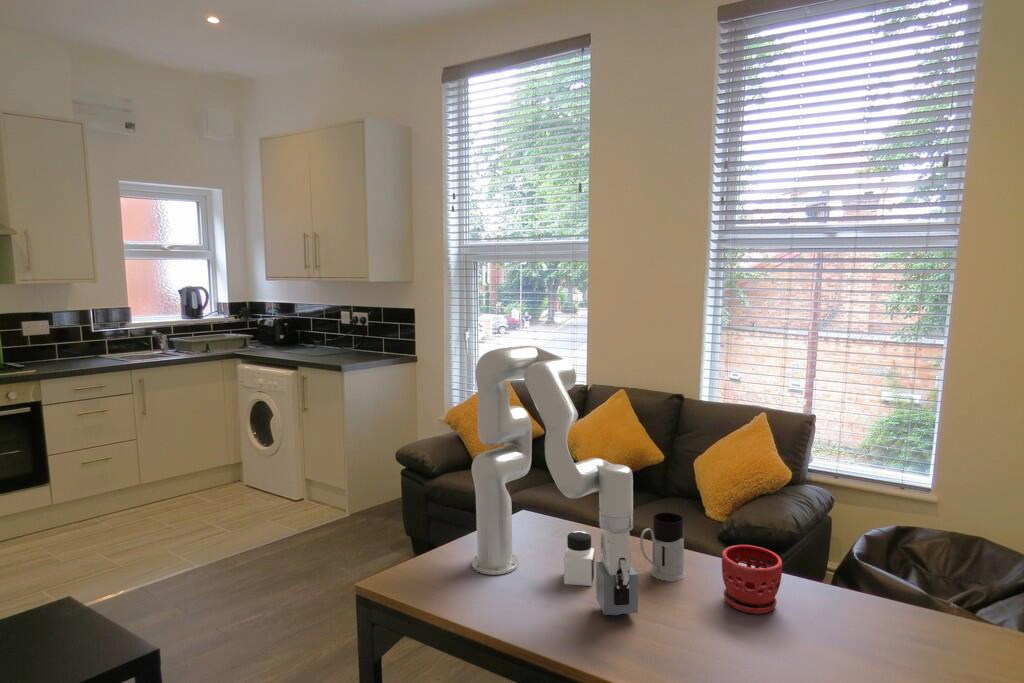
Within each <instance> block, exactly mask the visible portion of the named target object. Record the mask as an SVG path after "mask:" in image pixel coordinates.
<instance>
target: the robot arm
mask: <svg viewBox="0 0 1024 683" xmlns="http://www.w3.org/2000/svg"><path fill="white" fill-rule="evenodd" d="M576 373H577V372H576V369H575V368H574V366H573V365H572V363H571V362H569V361H568V360H566V359H565V358H564V357H561V356H559V355H557V354H554V353H551V352H549V351H547V350H545V349H543V348H540V347H537V346H534V345H522V346H521V345H520V346H510V347H509V346H508V347H501V348H495V349H491V350H490V351H487V352H485V353H484V354H483V355H482V356H480V357H479V359H478V361H477V363H476V366H475V382H476V389H477V390H476V391H477V436H478V439H479V441H480V442H481V443H482V444H483V445H484V446H487V447H493V446H495V448H492V449H487V450H485V451H482V452H480V453H479V454H478V455H476V457H474V459H473V461H472V463H471V475H472V480H473V484H474V491H475V510H476V512H475V513H476V556H475V557H474V558H472V560H471V567H473V568H472V569H473V570H476V572H477V573H479V572H480V574H483V575H490V576H495V575H496V576H497V575H504V574H508V573H511V572H513V571H515V570H516V569H517V568H518V566H519V559H518V557H517V556H515V555H514V554H513V513H512V512H513V510H512V509H513V508H512V505H513V504H512V498H511V495H510V493H509V491H508V490H507V487H506V484H507V483H509V482H512V481H515V480H518V479H521V478H523V477H525V476H526V475H527V474H529V471H530V469H531V465H532V453H533V452H532V450H533V449H532V447H533V445H532V444H533V441H532V440H533V426H532V425H533V424H532V420H531V418H530V415H529V413H528V411H526V409H525V408H523V407H522V406H519V405H511V404H510V403H511V402H510V400H511V396H510V390H509V388H508V386H507V384H506V383H505V382H508V381H515V380H522V379H523V381H524V384H525V386H526V388H527V390H528V393H529V395H530V397H531V399H532V401H533V404H534V406H535V408H536V410H537V413H539V414H538V415H539V416H540V419H541V420H542V422H543V424H544V427H545V430H546V431H545V437H544V457H545V458H544V459H545V462H546V466H547V468H548V471H549V472H550V474H551V476H552V479H553V480H554V483H555V485H556V487H557V488H558V490H559V491H560V492H561V494H563V496H565V497H566V498H568V499H579V498H582V497H584V496H587V495H589V494H592V493H596V492H598V494H599V495H598V497H599V501H598V502H599V504H598V506H599V509H598V510H599V514H598V515H599V517H598V518H599V529H601V533H600V562H602V564H603V566H604V568H605V569H606V571H607V573H608V574H609V575H610V576H613V575H615V584H616V587H614V603H615V605H628V604H629V574H630V573H631V565H632V552H631V550H632V549H631V535H630V533H631V532H630V531H632V530H633V528H634V475H633V471H632V469H631V468H630V467H629V466H627V465H624V464H619V463H618V464H617V463H616V464H615V463H611V462H609V461H607V460H605V459H602V458H599V457H590V458H587V459H584V460H581V461H578V462H574V459H573V457H572V455H571V453H570V450H569V445H568V436H569V433H570V429H571V428H572V426H574V424H575V423H576V421H578V419H579V418H578V417H579V413H578V411H577V410H578V409H576V407H575V406H576V405H575V404H574V402H573V401H572V399H571V396H570V395H569V393H568V391H569V390H571V389H573V388H574V387H575V384H576V382H577V374H576ZM503 444H504V446H500V447H496V446H499V445H503ZM617 571H621V573H617ZM618 576H622V579H620V581H619V580H618Z"/></svg>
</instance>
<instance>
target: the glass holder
mask: <svg viewBox="0 0 1024 683" xmlns="http://www.w3.org/2000/svg"><path fill="white" fill-rule="evenodd" d="M652 518H653V522H652V523H653V524H652V525H653V526H652V528H653V529H651V528H648V527H647V528H645V529H643V530H642V531H641V534H640V538H639V540H640V543H639V545H640V549H641V552H642V555H643V558H644V559H645V560H646V561H647V562H648V563H650V564H651V565H652V567H651V570H650V575H651V574H652V575H653V576H654V578H655V577H656V579H657V578H658V579H657V580H659V579H661V581H663V580H666V581H665V582H677V581H676V580H679V581H682V580H684V579H685V578H684V577H686V573H685V570H684V568H685V567H684V566H685V565H684V564H685V563H684V562H685V561H684V560H685V558H684V556H685V555H684V554H685V553H684V548H685V547H684V546H685V544H684V542H685V541H684V540H685V539H684V538H685V532H684V531H685V530H684V517H683V516H682V515H680V514H677V513H673V512H657V513H656V514H654V515H653V517H652ZM648 531H650V533H651V542H652V561H651V560H650V559H649V557H647V555H646V552H645V548H644V536H645V533H646V532H648ZM652 575H651V576H652ZM653 576H652V577H653ZM683 578H684V579H683ZM681 579H682V580H681Z"/></svg>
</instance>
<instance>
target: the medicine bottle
mask: <svg viewBox="0 0 1024 683" xmlns="http://www.w3.org/2000/svg"><path fill="white" fill-rule="evenodd" d="M566 537H567V542H566V543H567V547H566V549H565V552H564V557H563V583H564V585H570V586H571V585H572V586H587V587H592V586H593V584H594V578H595V548H593V547H592V535H591V534H590V533H588V532H587V531H584V530H583V531H581V530H575V531H572V532H570V533H568V534H567V536H566Z"/></svg>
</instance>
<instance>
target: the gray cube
mask: <svg viewBox="0 0 1024 683" xmlns="http://www.w3.org/2000/svg"><path fill="white" fill-rule="evenodd" d="M595 572H596V573H595V575H596V576H595V578H596V579H595V585H596V587H595V589H596V590H595V592H596V593H595V594H596V601H597V603H598V605H599V607H600V610H601V612H602V613H603V616H605V615H606V616H608V615H609V616H610V614H619V615H621V614H622V615H623V614H624V615H625V614H637V613H638V614H639V574H638V573H637V571H636V569H635V567H634V566H633V565H632V564H631V573H630V574H629V604H628V605H615V603H614V587H616V584H615V575H613V576H610V575H609V574H608V573H607V571H606V569H605V568H604V566H603V564H602V562H601V561H595ZM617 573H621V571H617ZM620 579H622V576H618V580H619V581H620Z"/></svg>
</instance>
